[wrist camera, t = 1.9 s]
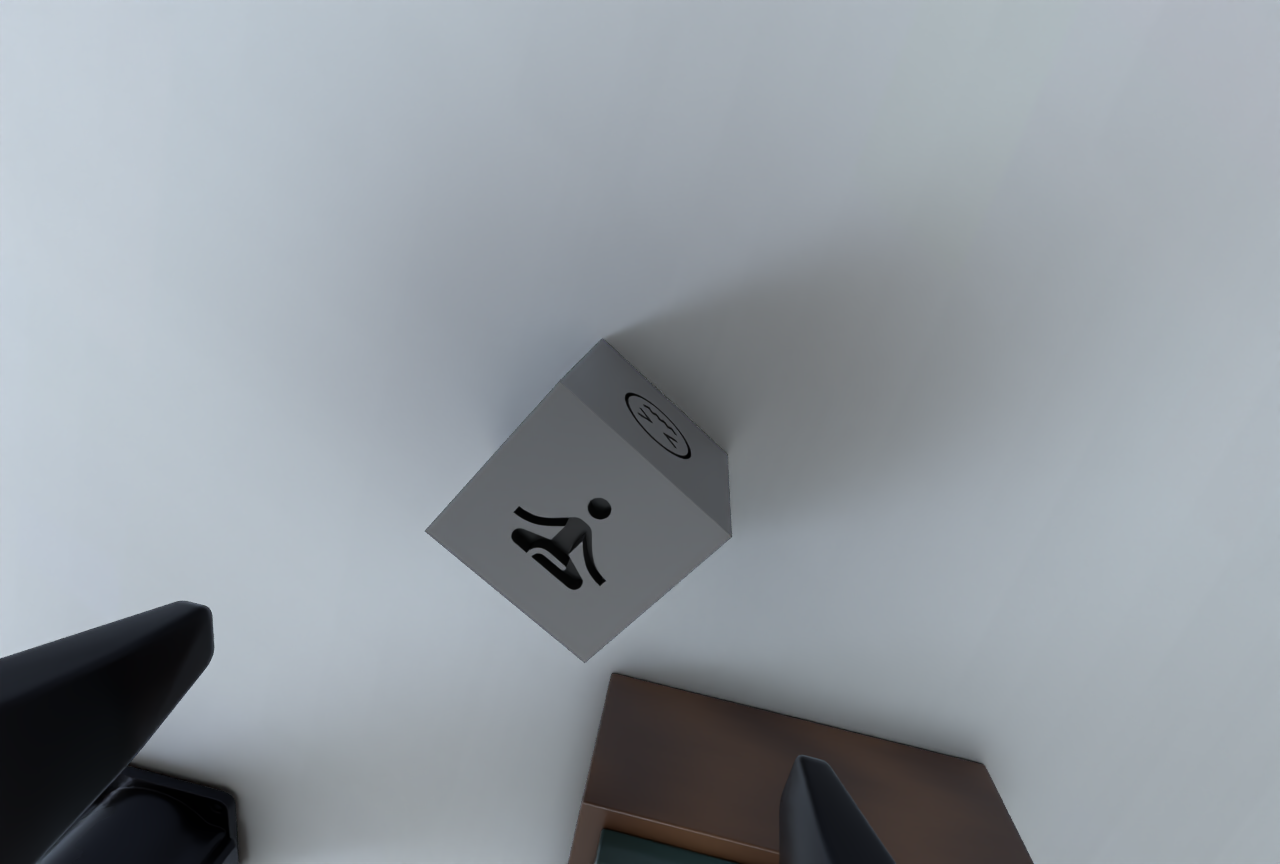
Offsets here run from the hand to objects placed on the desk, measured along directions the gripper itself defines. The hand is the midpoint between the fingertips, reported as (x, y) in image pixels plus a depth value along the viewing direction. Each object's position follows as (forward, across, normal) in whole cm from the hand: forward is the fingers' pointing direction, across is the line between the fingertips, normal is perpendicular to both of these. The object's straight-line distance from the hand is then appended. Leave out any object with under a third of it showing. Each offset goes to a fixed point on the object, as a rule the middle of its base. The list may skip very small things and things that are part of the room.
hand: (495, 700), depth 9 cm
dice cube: (+10, 0, 0) cm, 10 cm away
